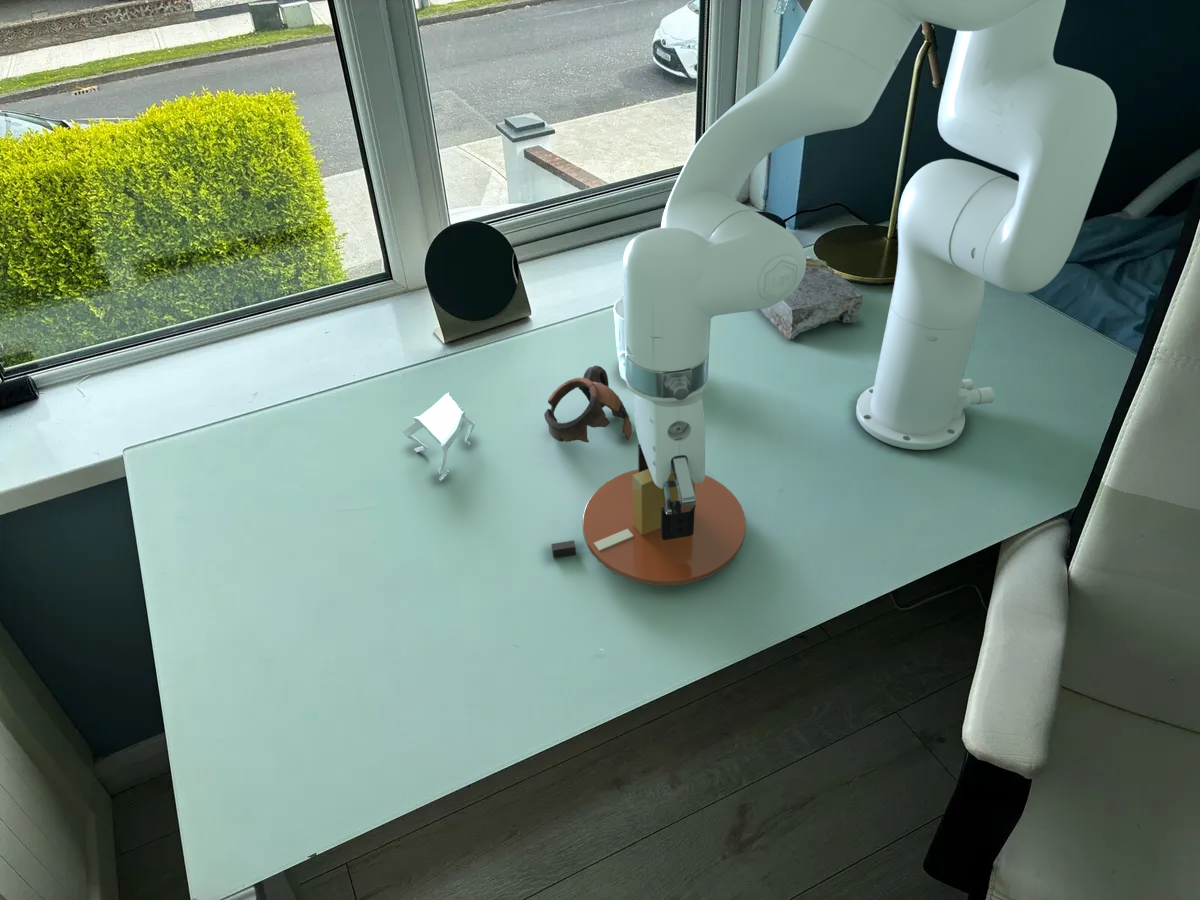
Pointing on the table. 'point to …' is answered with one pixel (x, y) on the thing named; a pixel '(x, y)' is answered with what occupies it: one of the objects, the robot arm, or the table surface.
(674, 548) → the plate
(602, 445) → the table surface
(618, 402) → the pottery mug
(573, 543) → the dark grey rectangular block
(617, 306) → the white cup
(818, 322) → the geological specimen
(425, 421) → the origami figure
